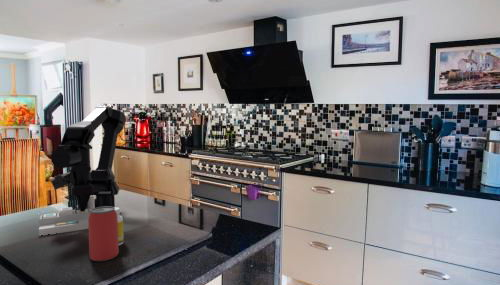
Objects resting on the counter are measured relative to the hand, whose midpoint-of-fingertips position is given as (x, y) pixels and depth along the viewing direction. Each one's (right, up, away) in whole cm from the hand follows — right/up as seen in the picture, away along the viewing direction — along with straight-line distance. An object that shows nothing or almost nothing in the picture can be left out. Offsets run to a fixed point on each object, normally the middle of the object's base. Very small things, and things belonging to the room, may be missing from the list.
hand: (82, 211), depth 109 cm
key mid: (-4, -1, -2) cm, 5 cm away
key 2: (0, -2, 0) cm, 2 cm away
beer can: (+19, -6, -27) cm, 34 cm away
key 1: (-8, -2, -4) cm, 9 cm away
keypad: (-4, -4, -2) cm, 6 cm away
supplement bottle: (+18, -5, -18) cm, 26 cm away
